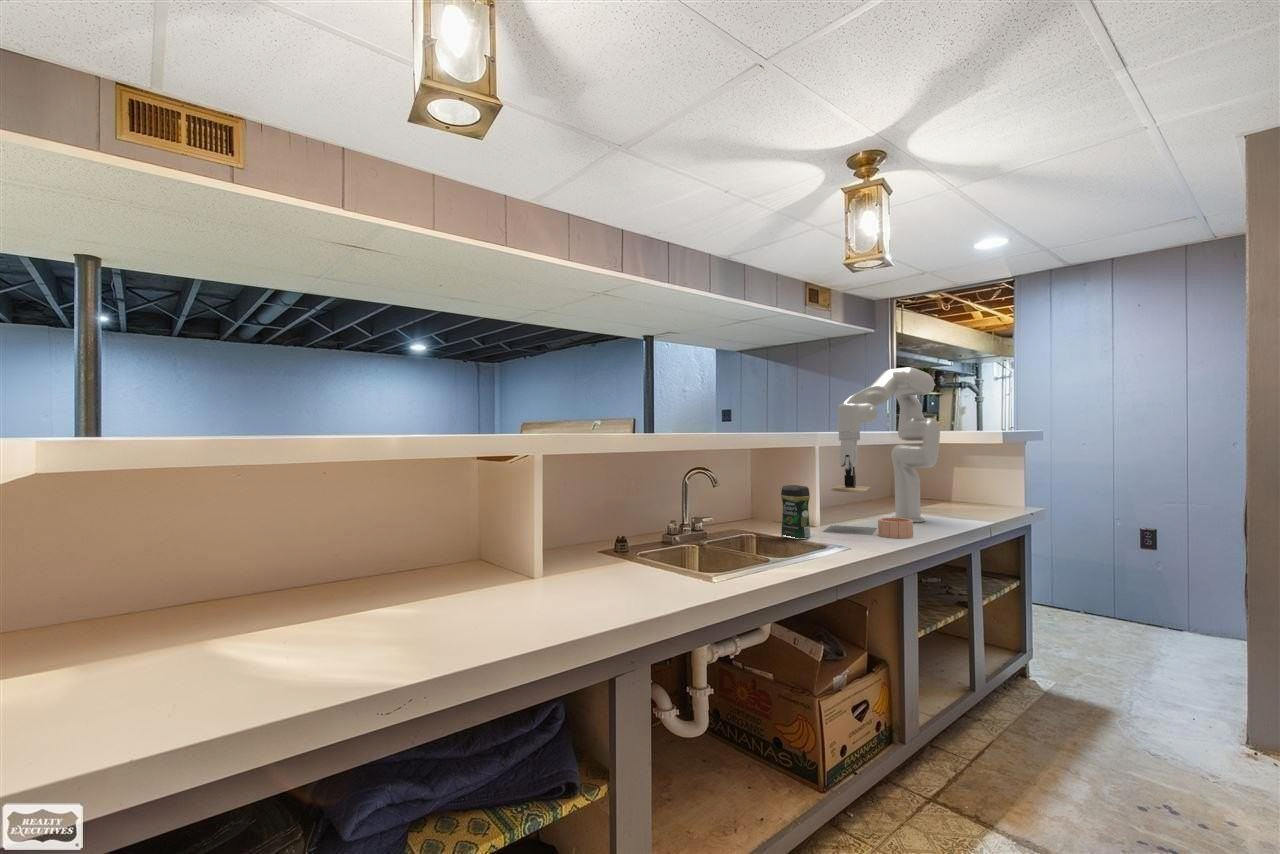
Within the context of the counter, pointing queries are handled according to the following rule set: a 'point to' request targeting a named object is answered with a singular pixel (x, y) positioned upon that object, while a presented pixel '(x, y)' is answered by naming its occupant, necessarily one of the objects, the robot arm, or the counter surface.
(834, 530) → the rubber mat
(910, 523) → the terracotta bowl
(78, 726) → the counter surface
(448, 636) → the counter surface
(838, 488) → the oak lid
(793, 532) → the coffee jar
